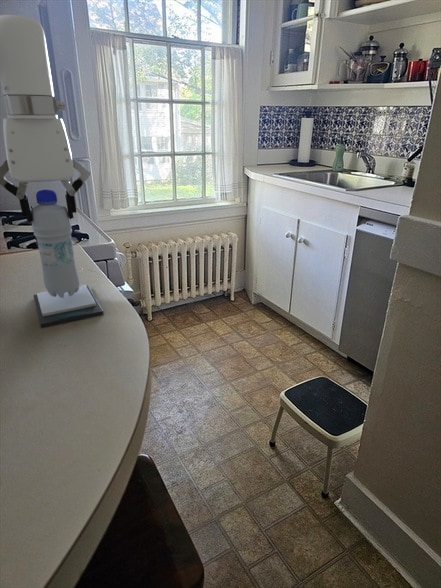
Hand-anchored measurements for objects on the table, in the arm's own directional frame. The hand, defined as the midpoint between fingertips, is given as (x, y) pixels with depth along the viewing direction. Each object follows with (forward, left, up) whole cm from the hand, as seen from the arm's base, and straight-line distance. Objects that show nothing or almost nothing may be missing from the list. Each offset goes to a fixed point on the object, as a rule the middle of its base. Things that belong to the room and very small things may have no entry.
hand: (50, 217), depth 71 cm
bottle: (0, 0, -15) cm, 15 cm away
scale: (0, -1, -19) cm, 19 cm away
